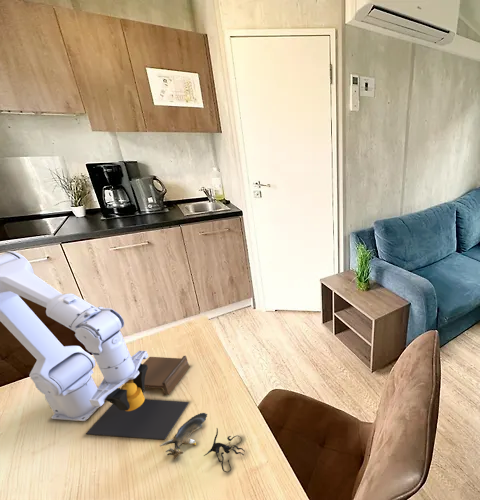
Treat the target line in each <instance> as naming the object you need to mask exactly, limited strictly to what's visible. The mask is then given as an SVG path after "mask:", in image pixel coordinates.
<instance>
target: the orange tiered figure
mask: <svg viewBox="0 0 480 500" xmlns="http://www.w3.org/2000/svg"><path fill="white" fill-rule="evenodd" d="M119 388H120V389H122V390H127V400H128V402H129V405H130V408H129V410H127V411H132V410H135V409H137V408H138V407H140V406H141V405H142V404H143V402H144V400H145V399H146V398H145V396H144V392H143V393H142V390H141V388H139V387H137V385H136V384H135V383H133V379H130V380H128V382H127V383H126V384H125V383H124V384H123V385H121V386H120V387H119ZM125 411H126V410H125Z"/></svg>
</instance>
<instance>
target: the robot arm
mask: <svg viewBox="0 0 480 500" xmlns="http://www.w3.org/2000/svg"><path fill="white" fill-rule="evenodd" d="M22 298H24V299H26V300H28V301H30V302H32V303H35V304H37V305H38V306H41V307H44V308H46V310H45V314H46V316H47V317H48V318H50V319H52V320H54V321H55V322H57V323H59V324H60V325H63V327H66V328H68V329H70V330H71V331H73V332H74V333H75V334H74V337H75V338H76V339H77V340H78V341H79V342H80V343H81V344H82V345H83V346H84V347H85V350H86V351H85V350H84V349H83V348H82V347H81V346H80V345H65V346H64V345H63V344H62V343H61V342H60V340H58V338H57V337H56V336H55V335H54V334H53V332H52V331H51V330H50V329H49V328H48V327H47V326H46V325H45V323H44V322H43V321H42V320H41V319H40V318H39V317H38V316H37V314H35V312H34V311H33V309H32V308H30V307H29V305H28V304H27V303H26V302H25V301H24V300H23V299H22ZM0 323H1V324H2V325H3V326H4V327H5V328H6V329H7V330H8V331H9V332H10V334H12V335H13V336H14V337H15V339H17V341H19V343H20V344H21V345H22V346H23V347H24V348H25V349H26V350H27V351H28V352H29V353H30V354H31V356H33V358H35V359H36V362H35V363H34V365H33V367H32V368H31V371H30V372H29V377H30V379H31V380H32V382H33V383H34V386H35V388H36V389H37V390H38V391H39V392H40V393H41V394H42V395H44V399H45V401H46V403H47V404H48V406H49V407H50V409H51V410H52V412H53V415H52V416H51V417H50V418H51V419H52V420H61V421H77V422H86V421H88V420H89V419H90V417H91V416H93V414H94V413H95V412H96V411H97V410H98V409H99V408H101V407H102V406H103V405H105V402H109V403H110V404H111V405H112V404H114V405H115V406H116V407H117V408H118V409H119V410H126V411H127V410H129V408H130V405H129V402H128V400H127V390H122V389H120V388H121V387H122V386H123V385H124V384H125V382H127V381H128V380H130V379H133V383H135V384H136V385H137V387H139V388H141V390H142V393H143V394H144V392H145V387H144V383H145V375H146V371H147V369H148V367H147V365H146V364H143V363H142V362H143V360H147V359H148V358H149V354H148V352H147V350H138V351H137V352H136V353H135V354H133V355H131V353H130V351H129V348H128V346H127V343H126V341H125V339H124V336H123V334H122V332H121V330H122V329H123V328H124V326H125V320H124V318H123V317H122V315H121V314H120V313H119V312H118V311H116V310H115V309H113V308H112V307H111V308H110V307H104V306H95V305H93V304H92V303H90V302H88V301H87V300H85V299H83V298H81V297H80V296H78V295H76V294H75V293H62V292H60V291H59V290H57V289H56V288H54V287H53V286H52V285H50V284H49V283H48V282H46V281H44V280H43V278H40V277H39V276H38V275H36V274H35V271H34V269H33V266H32V264H31V262H30V261H29V260H28V259H27V258H26V257H25V256H24V255H23V254H21V253H19V252H17V251H14V250H9V251H5V252H4V253H2V254H1V253H0ZM90 353H91V354H90ZM96 364H97V366H98V368H99V370H100V373H101V375H102V376H103V378H102V381H101V382H100V384H99V385H98V386H97V384H96V382H95V380H94V378H93V376H92V375H93V374H94V368H96Z"/></svg>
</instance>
